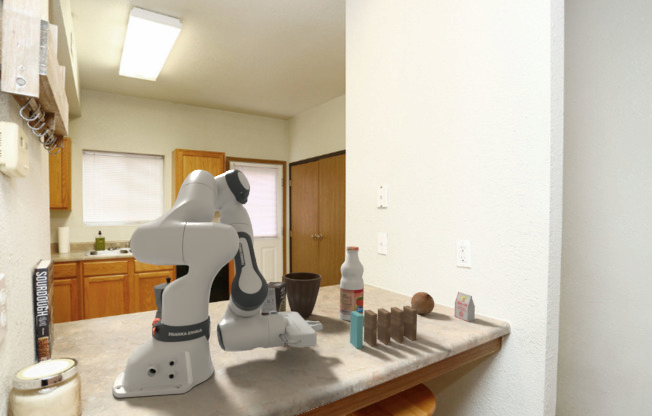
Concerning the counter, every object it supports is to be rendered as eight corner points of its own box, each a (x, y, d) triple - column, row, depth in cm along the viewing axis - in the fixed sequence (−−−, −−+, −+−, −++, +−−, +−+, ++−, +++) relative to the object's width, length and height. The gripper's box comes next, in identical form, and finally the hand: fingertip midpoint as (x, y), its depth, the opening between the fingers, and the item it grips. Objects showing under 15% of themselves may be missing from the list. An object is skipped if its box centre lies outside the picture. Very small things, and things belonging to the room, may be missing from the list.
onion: (430, 323, 137) (438, 304, 133) (407, 315, 138) (415, 296, 134) (429, 308, 145) (437, 290, 141) (408, 301, 147) (415, 283, 143)
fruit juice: (340, 313, 138) (341, 245, 138) (362, 314, 137) (364, 246, 137) (338, 320, 128) (340, 248, 128) (363, 322, 127) (364, 248, 127)
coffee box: (277, 335, 112) (278, 287, 112) (259, 333, 114) (260, 286, 114) (286, 326, 121) (287, 281, 121) (269, 324, 123) (270, 280, 123)
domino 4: (411, 340, 110) (412, 310, 110) (402, 335, 115) (403, 306, 115) (416, 340, 111) (417, 309, 111) (407, 334, 115) (408, 305, 115)
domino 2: (385, 344, 107) (385, 313, 107) (377, 338, 111) (377, 308, 111) (390, 343, 107) (391, 312, 107) (382, 338, 112) (383, 308, 112)
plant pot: (328, 316, 134) (329, 276, 134) (299, 324, 123) (300, 281, 123) (304, 307, 144) (304, 270, 144) (275, 315, 134) (276, 275, 134)
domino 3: (398, 342, 108) (399, 311, 108) (390, 337, 113) (390, 307, 113) (403, 341, 109) (404, 311, 109) (395, 336, 114) (395, 307, 114)
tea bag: (461, 315, 138) (462, 291, 138) (474, 320, 131) (475, 295, 131) (454, 316, 136) (455, 292, 136) (467, 322, 130) (467, 296, 130)
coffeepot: (157, 323, 122) (158, 274, 122) (185, 321, 124) (186, 273, 124) (145, 339, 107) (146, 283, 107) (177, 337, 109) (178, 282, 109)
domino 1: (371, 346, 105) (371, 314, 105) (363, 340, 109) (364, 310, 109) (376, 345, 105) (377, 314, 105) (369, 339, 110) (369, 309, 110)
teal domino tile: (356, 348, 103) (357, 316, 103) (350, 342, 108) (350, 311, 108) (362, 347, 104) (363, 315, 104) (355, 341, 108) (356, 311, 108)
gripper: (284, 332, 87) (334, 326, 92) (269, 309, 106) (310, 305, 111) (284, 356, 87) (333, 349, 92) (269, 329, 106) (310, 324, 111)
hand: (321, 325), depth 101 cm, fingers closed
